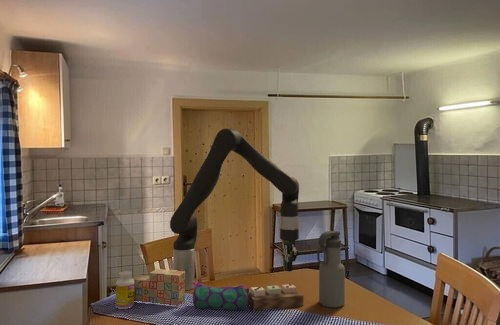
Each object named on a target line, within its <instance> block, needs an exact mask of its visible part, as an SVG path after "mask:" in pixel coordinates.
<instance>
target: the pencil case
mask: <svg viewBox="0 0 500 325" xmlns="http://www.w3.org/2000/svg"><path fill="white" fill-rule="evenodd" d="M193 284H194V288H193V292H192V304H193V306H194V308H199V309H205V310H206V309H208V310H209V309H214V310H215V309H216V310H226V311H242V312H243V311H244V312H245V311H247V309H248V306H249V305H248V298H247V293H249V290H250V289H249V287H248V288H247V286H246V285H245V284H242V283H241V284H239V285H236V286H232V285H231V286H230V285H229V286H228V285H227V286H221V287H215V286H208V285H205V284H203V283H201V282H197V281H196V280H194V283H193Z"/></svg>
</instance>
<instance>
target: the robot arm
mask: <svg viewBox="0 0 500 325" xmlns="http://www.w3.org/2000/svg"><path fill="white" fill-rule="evenodd" d="M231 151H232V152H234V153H235V154H237V155H239V156H241V157H242V158H243V159H245V160H246V162H247V163H248V164H249V165H250V166H251V167H252V168H253V170H254V171H256V172H257V173H258V174H259V175H261V176H262V177H263V178H264V179H265V180H267V181H268V182H270V183H271V185H273V186H274V187H275V188H276V189H277V190H278V191H279V192H281V199H282V200H281V202H280V218H279V239H280V240H282V241H283V242H282V244H280V249H281V255H282V258H283V259H284V261H285V271H287V272H289V273H290V272H292V271H293V263H294V262H295V261H296V260H297V258H298V257H297V256H298V254H299V250H298V249H296V247H297V246H296V241H297V240H298V241H299V239H300V238H299V236H300V228H299V227H300V225H299V224H300V223H299V222H300V220H299V195H300V194H299V193H300V183H299V182H298V180H297V179H296V178H295V177H291V176H290V175H288V174H287V173H285V172H284V171H283V170H282V169H281V168H280V167H279V166H278V165H277V164H276V163H274V161H272V160H270V158H268V157H266V156H265V155H264V154H263V153H261V152H260V151H258V150H257V149H256V148H255V147H254V146H253V145H252V144H250V143H249V141H248V140H246V138H245V137H244V136H243V135H242V134H241V133H240V132H239V131H238V130H236V129H235V128H223V129H221V130H219V131H218V132H217V134H216V135H215V137H214V140H213V142H212V145H211V147H210V150H209V151H208V154H207V156H206V158H204V161H203V162H202V164H201V166H200V168H199V170H198V172H197V173H196V175H195V176H194V179H193V181H192V183H191V184H190V186H189V187H188V190H187V191H186V194H185V195H184V198H183V199H182V201H181V202H180V204H179V205H178V207H177V208H176V210H175V212H174V213H173V214H172V216H171V217H170V220H169V228H170V230H171V232H172V233H173V234H176V235H178V236H177V238H176V239H175V240H174V242H173V246H172V249H173V253H172V254H173V255H172V259H173V260H172V266H171V267H172V268H171V270H178V271H185V292H186V291H190V290H194V288H195V284H193V283H194V282H195V254H196V253H195V250H196V249H195V247H196V246H195V245H196V243H197V236H198V218H197V215H196V214H195V211H197V209H198V207H199V206H201V205H202V203H204V202H205V201H206V200H207V198H209V197H210V195H211V194H212V192H213V190H214V189H215V187H216V185H217V184H218V181H219V178H220V174H221V170H222V165H223V164H224V162H225V160H226V158H227V157H228V155H229V154H230V152H231Z"/></svg>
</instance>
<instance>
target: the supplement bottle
mask: <svg viewBox="0 0 500 325" xmlns="http://www.w3.org/2000/svg"><path fill="white" fill-rule="evenodd" d="M118 277H119V278H118V279H117V280H116V282H115V308H116V309H117V308H118V309H117V310H121V309H125V310H127V309H126V308H129V307H132V306H133V305H134V306H135V303H134V279H132V278H131V277H133V271H129V270H124V271H120V272H119V273H118ZM134 306H133V307H134ZM133 307H132V308H133Z"/></svg>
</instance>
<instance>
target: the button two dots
mask: <svg viewBox="0 0 500 325" xmlns="http://www.w3.org/2000/svg"><path fill="white" fill-rule="evenodd" d="M281 287H282V291H283V292H284V293H285V294H288V293H296V290H297V286H295V285H294V284H292V283H288V284H281Z"/></svg>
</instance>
